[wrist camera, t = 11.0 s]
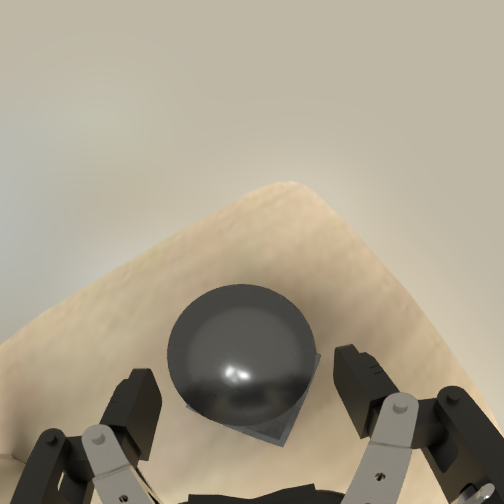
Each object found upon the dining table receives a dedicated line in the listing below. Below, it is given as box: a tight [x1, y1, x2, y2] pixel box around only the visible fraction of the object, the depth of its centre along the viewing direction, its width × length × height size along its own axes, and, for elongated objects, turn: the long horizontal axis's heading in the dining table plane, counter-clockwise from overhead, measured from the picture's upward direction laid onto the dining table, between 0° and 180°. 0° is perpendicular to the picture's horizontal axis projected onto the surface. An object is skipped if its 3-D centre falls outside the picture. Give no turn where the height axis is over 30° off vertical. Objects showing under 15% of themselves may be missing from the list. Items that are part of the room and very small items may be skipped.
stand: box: [186, 353, 321, 447], centre depth 22 cm, size 10×10×7 cm
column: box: [167, 284, 316, 426], centre depth 14 cm, size 5×5×13 cm
